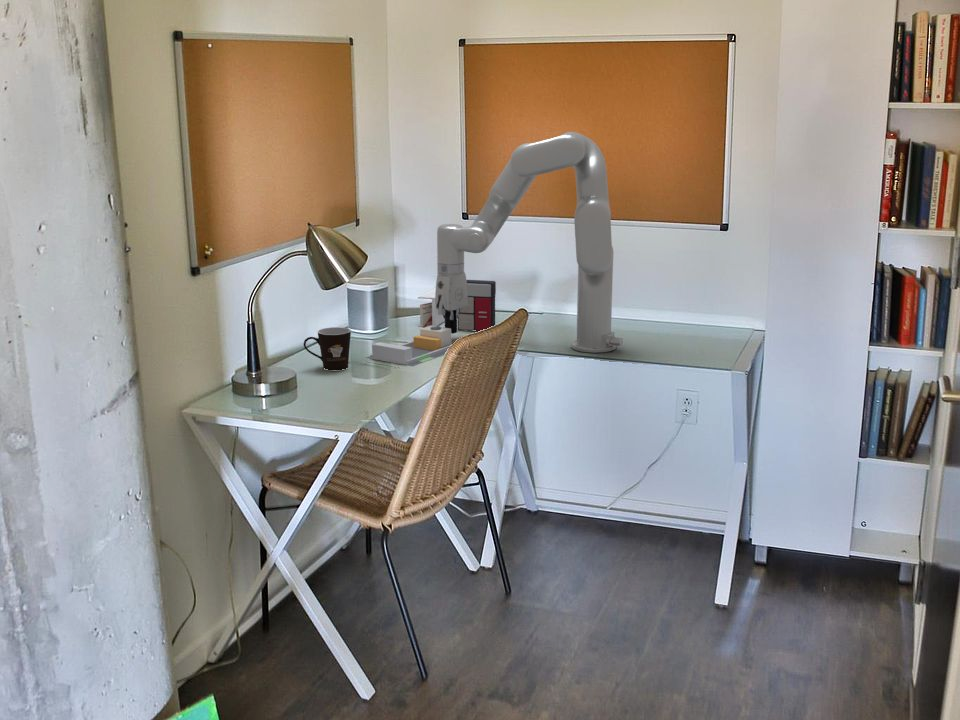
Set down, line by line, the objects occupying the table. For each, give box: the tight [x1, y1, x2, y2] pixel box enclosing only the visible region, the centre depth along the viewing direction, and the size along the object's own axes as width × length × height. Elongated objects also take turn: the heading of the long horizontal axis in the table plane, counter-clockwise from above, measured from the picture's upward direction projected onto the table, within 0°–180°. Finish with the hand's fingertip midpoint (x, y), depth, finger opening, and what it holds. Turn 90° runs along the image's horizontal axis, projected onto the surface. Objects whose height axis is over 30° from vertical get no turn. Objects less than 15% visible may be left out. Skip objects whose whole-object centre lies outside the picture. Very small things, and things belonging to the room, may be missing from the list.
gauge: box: [419, 326, 452, 348], centre depth 299 cm, size 5×7×5 cm
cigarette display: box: [417, 286, 445, 328], centre depth 334 cm, size 20×6×9 cm, turn 163°
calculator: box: [457, 279, 497, 332], centre depth 320 cm, size 11×4×15 cm, turn 73°
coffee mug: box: [303, 326, 352, 371], centre depth 281 cm, size 12×9×10 cm
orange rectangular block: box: [412, 335, 441, 351], centre depth 296 cm, size 2×8×3 cm, turn 56°
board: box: [365, 340, 450, 369], centre depth 292 cm, size 25×16×5 cm, turn 146°
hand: (450, 332), depth 305 cm, fingers closed
